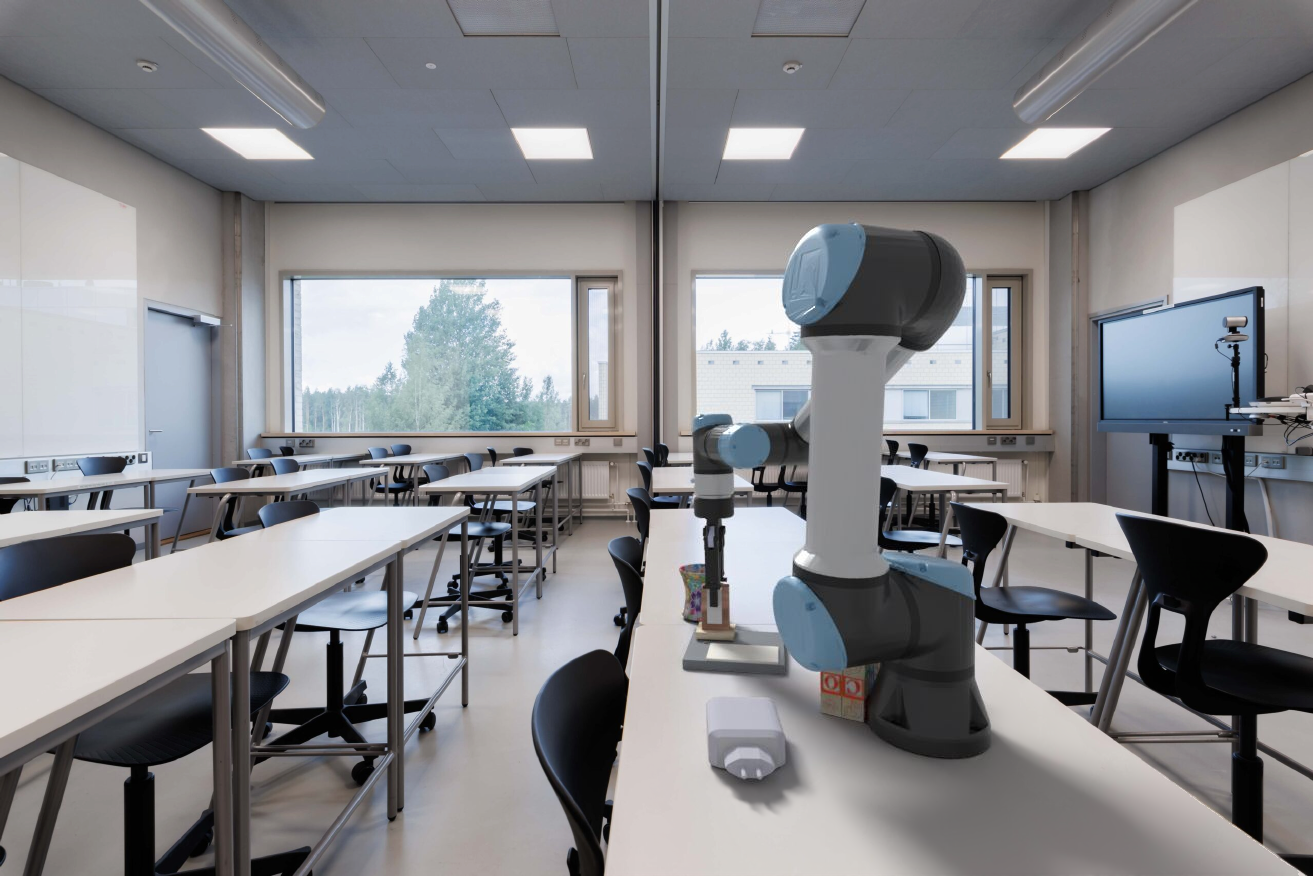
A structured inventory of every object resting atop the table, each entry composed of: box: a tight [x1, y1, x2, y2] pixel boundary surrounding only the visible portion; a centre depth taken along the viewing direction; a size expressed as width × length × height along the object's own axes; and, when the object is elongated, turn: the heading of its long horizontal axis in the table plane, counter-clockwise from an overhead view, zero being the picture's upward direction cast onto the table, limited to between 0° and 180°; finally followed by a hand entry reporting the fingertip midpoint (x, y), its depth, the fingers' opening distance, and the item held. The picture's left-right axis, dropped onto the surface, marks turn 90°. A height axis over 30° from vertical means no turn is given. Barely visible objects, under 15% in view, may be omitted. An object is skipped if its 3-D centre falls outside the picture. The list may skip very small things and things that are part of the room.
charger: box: [705, 696, 786, 780], centre depth 74 cm, size 5×9×15 cm
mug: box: [678, 563, 705, 622], centre depth 132 cm, size 12×9×11 cm
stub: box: [695, 583, 737, 641], centre depth 114 cm, size 6×7×9 cm
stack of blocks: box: [819, 663, 880, 723], centre depth 94 cm, size 21×6×12 cm, turn 148°
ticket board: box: [681, 627, 786, 676], centre depth 109 cm, size 16×17×2 cm
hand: (715, 619), depth 114 cm, fingers closed on stub, 3 cm apart
